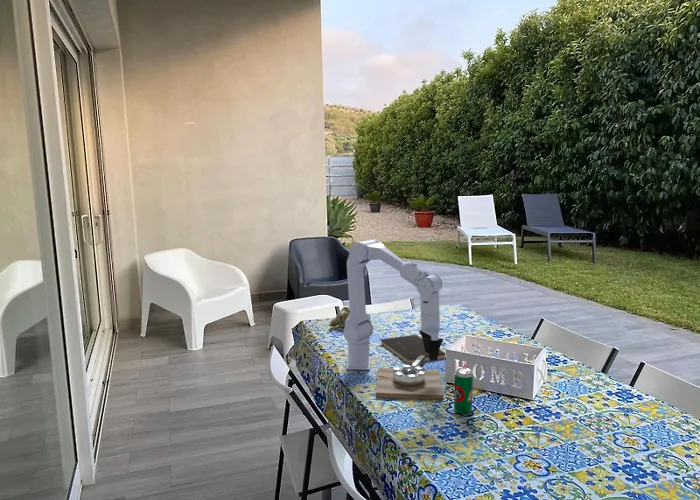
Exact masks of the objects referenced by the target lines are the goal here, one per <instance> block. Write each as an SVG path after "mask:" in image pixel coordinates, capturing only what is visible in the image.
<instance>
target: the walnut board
mask: <svg viewBox="0 0 700 500" xmlns="http://www.w3.org/2000/svg"><path fill="white" fill-rule="evenodd" d="M394 368H395V367H378V368H377V378H376V388H375V398H382V399H383V398H385V399H406V400H407V399H410V400H411V399H412V400H414V399H415V400H437V401H438V400H439V401H442V400H444V392H443V391H444V390H443V387H442V380H441V376H440V370H439V369H430V368H429V369H428V368H426V369H425V368H423V371H424V372H425V382H424V383H423V384H421V385H418V386H402V385H399V384H396V383H395V382H394V381H393V369H394Z"/></svg>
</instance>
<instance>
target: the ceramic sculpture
mask: <svg viewBox="0 0 700 500" xmlns="http://www.w3.org/2000/svg"><path fill="white" fill-rule="evenodd" d="M349 314H350V308H349V306H347V307H346V306H343V307H342V308H341V310H339V311H338V313H337V314H336V316H335V317H334V318H332V320H330V323H329V324H328V326H329V327H331V328H335V327H337V326H338V327H340V328H345V321H346V319H347V318H348V316H349Z"/></svg>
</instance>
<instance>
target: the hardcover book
mask: <svg viewBox="0 0 700 500" xmlns="http://www.w3.org/2000/svg"><path fill="white" fill-rule="evenodd" d="M379 340H380V341H381V342H380V343H381V345H382V346H384V347H385V348H387V350H389V351H391V353H393V354H394V355H396V356H397V357H398V358H400V359H402V361H404V362H405V363H407V365H410V364H413V363H414V362H415V361H416V359H417V358H418V357H419V356H420V355H423V356H425V362H429V361H430V359H429V354H428V353H426V352H425V349H424V344H423V340H422V336H419V335H417V334H411V335H404V336H395V337H388V338H381V339H379ZM445 353H446V351H443V350H441V348H440V349H439V353H438V358H437V360H441V359H442V358H443V359H446V358H445Z"/></svg>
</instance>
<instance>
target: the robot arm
mask: <svg viewBox="0 0 700 500" xmlns="http://www.w3.org/2000/svg"><path fill="white" fill-rule="evenodd" d="M348 253H349V255H348V257H347V260H346V275H347V289H348V291H347V292H348V307H349V308H350V314H349V316H348V318H347V319H346V321H345V327H343V328H344V329H343V336H344V339H345V341H346V343H347V362H346V367H345V369H346V370H357V371H359V370H360V371H369V370H370V368H371V363H372V361H371V360H372V359H371V358H370V338H371V336H372V335H373V333H374V325H373V323H372V320H371V316H370V315H369V314H368V313H367V309H366V306H367V305H366V293H365V291H366V290H365V275H364V268H365V266H367V264H368V263H369V262H370V261H377V260H380V261H382V262H383V263H385V264H387V265H388V266H390V267H391V268H393V269H395V270H397V271H398V272H399V274H400V277H401V278H403V280H405V281H407V282H408V283H409V284H411V285H412V286H414V287H415V288H416V291H417V292H418V294H419V298H420V329H419V330H418V332H419V334H420V337H421V338H422V340H423V344H424V349H425V352H426V353H428V354H429V359H430V361H431V362H433V361H438V359H437V358H438V353H439V349H440V350H441V346H442V344H443V342H444V339H443V337H441V338H439V334H440V333H441V332H440V331H444V326H442V325H441V322H440V321H441V319H440V316H441V315H440V314H441V313H440V291H441V290H442V288H443V281H442V279H441V277H440V276H439V275H438V274H437V273H430V272H429V271H428V270H424V269H423V268H422V267H420V266H418V263H417V262H415V261H413V262H412V261H407V262H405V261H404V260H403V259H402V258H400V257H399V256H398V255H396V254H395V253H394V252H392V251H391V250H390V249H389V248H387V247H386V246H385V244H384V243H383V242H381V241H379V240H378V239H375V238H371V239H367V240H363V241H356V242H354V243H353V244H352V245H351V246H350V247H349V248H348Z"/></svg>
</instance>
